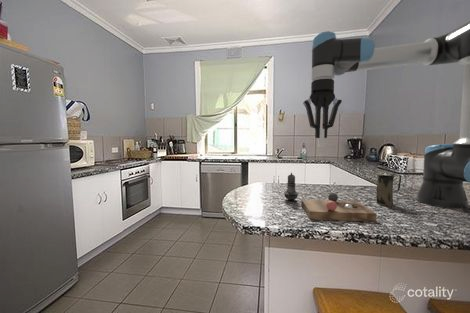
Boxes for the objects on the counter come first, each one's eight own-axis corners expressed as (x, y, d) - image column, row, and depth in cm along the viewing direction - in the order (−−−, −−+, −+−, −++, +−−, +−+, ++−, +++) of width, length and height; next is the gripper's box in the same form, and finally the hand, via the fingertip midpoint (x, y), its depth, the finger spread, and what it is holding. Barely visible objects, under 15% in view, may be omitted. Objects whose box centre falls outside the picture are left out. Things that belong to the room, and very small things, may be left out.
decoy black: (335, 200, 84) (336, 192, 84) (339, 202, 81) (339, 194, 81) (327, 200, 84) (327, 191, 84) (329, 202, 81) (330, 193, 81)
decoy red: (334, 209, 73) (335, 199, 73) (338, 212, 70) (338, 202, 70) (324, 208, 74) (324, 199, 74) (327, 212, 71) (327, 202, 70)
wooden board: (356, 207, 83) (356, 201, 83) (376, 221, 69) (376, 213, 69) (301, 206, 85) (301, 199, 85) (309, 219, 71) (309, 211, 71)
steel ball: (353, 209, 78) (348, 201, 78) (357, 211, 75) (352, 203, 75) (345, 213, 79) (340, 205, 79) (348, 216, 75) (343, 208, 75)
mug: (379, 205, 86) (381, 174, 85) (373, 201, 91) (374, 172, 90) (402, 206, 84) (404, 175, 83) (395, 202, 90) (396, 173, 89)
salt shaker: (299, 204, 88) (299, 173, 87) (283, 203, 89) (284, 173, 88) (297, 200, 94) (298, 171, 93) (283, 199, 95) (283, 171, 94)
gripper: (338, 82, 82) (336, 147, 84) (301, 83, 84) (300, 147, 85) (346, 77, 75) (343, 147, 77) (305, 78, 76) (304, 147, 78)
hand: (320, 147), depth 81 cm, fingers closed
